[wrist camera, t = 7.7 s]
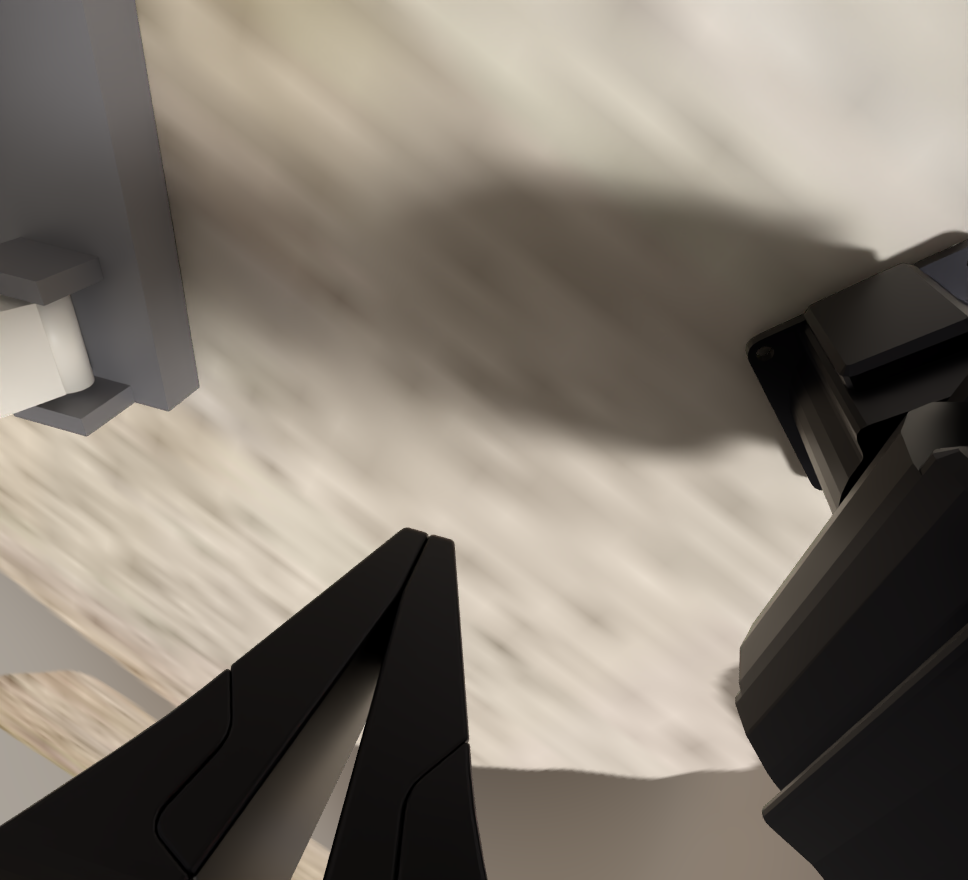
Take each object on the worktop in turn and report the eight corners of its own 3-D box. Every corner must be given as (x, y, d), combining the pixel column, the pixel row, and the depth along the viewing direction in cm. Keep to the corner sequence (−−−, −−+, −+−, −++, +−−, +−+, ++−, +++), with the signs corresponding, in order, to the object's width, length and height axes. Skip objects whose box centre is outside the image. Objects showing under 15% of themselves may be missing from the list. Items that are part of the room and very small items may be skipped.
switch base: (59, -453, 12) (-190, -665, 8) (199, 387, 24) (123, 447, 21) (-188, -488, 12) (-521, -700, 9) (73, 353, 25) (-22, 405, 21)
